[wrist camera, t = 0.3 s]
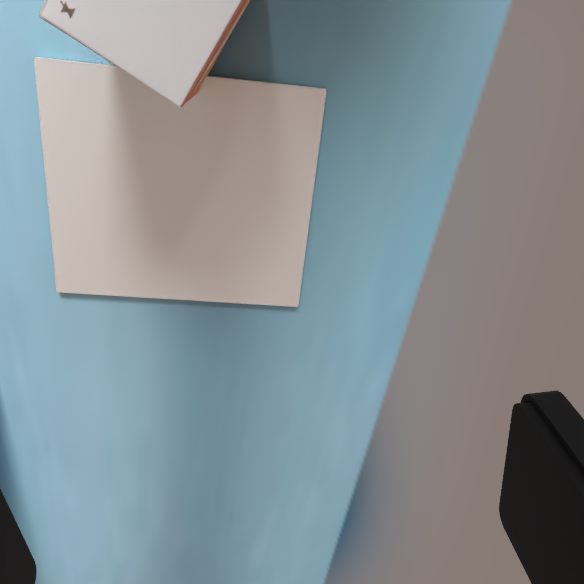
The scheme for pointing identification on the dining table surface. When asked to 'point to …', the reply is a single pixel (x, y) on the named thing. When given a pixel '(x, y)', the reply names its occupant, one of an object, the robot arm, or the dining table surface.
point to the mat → (177, 185)
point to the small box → (152, 37)
